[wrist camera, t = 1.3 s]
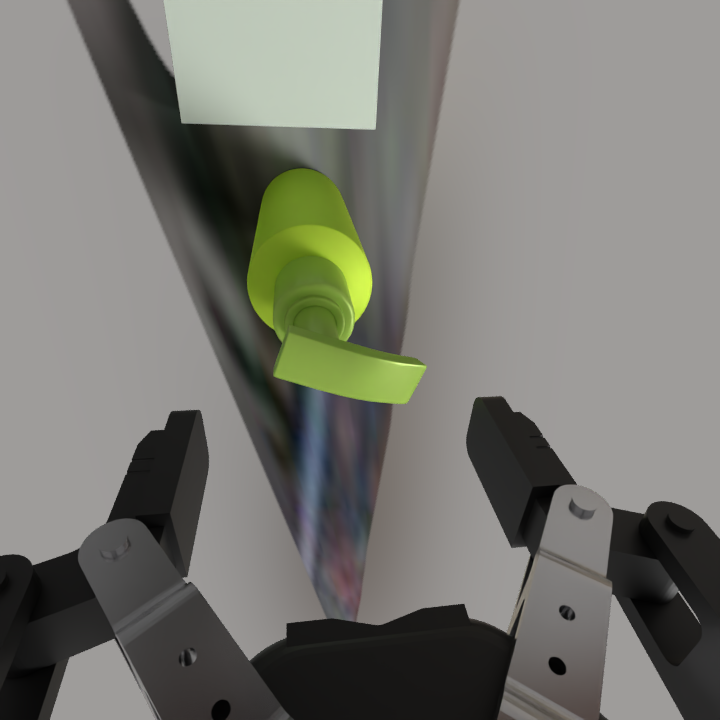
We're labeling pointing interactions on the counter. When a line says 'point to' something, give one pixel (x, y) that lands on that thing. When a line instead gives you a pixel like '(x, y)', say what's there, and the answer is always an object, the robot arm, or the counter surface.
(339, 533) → the counter surface
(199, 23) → the plate
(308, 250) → the soap dispenser
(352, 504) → the counter surface
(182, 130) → the counter surface
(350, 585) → the counter surface
